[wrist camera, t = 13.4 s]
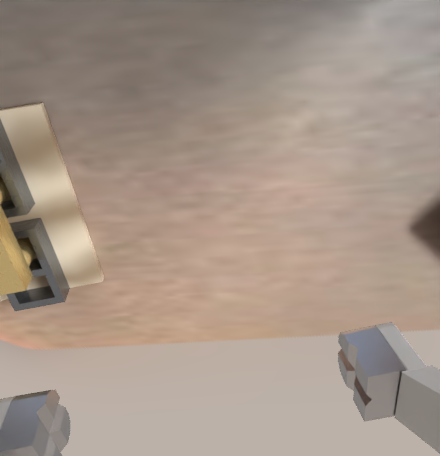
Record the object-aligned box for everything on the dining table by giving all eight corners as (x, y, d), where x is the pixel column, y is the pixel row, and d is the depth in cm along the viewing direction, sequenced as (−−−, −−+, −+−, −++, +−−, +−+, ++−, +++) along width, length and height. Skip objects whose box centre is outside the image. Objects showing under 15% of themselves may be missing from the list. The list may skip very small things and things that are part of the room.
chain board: (-102, 125, 34) (-109, 128, 33) (43, 102, 35) (40, 104, 34) (-9, 297, 44) (-12, 303, 43) (104, 276, 45) (102, 281, 44)
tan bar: (-23, 172, 36) (-57, 199, 31) (6, 167, 36) (-22, 193, 31) (18, 259, 41) (-5, 296, 35) (44, 254, 41) (25, 290, 36)
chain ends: (-65, 121, 34) (-80, 128, 31) (-3, 111, 34) (-14, 117, 32) (22, 296, 43) (14, 311, 41) (69, 287, 44) (64, 301, 41)
